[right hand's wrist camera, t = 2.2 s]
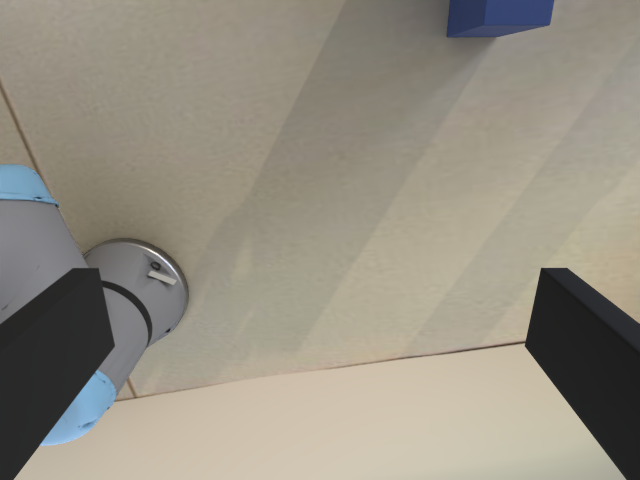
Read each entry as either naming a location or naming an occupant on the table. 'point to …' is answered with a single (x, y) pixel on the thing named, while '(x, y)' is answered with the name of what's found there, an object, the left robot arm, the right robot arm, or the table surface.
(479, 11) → the box
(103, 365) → the right robot arm
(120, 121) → the table surface
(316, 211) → the table surface
